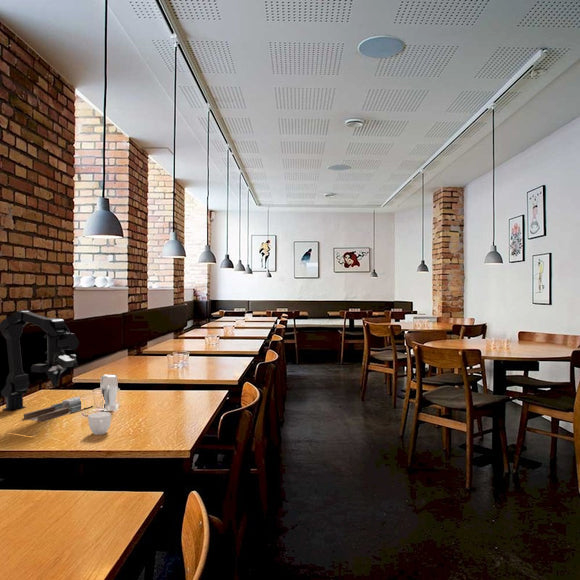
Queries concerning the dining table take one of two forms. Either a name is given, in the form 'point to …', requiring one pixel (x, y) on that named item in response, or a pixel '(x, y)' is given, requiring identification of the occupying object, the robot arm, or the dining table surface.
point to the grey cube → (69, 403)
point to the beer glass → (109, 391)
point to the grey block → (77, 400)
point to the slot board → (50, 413)
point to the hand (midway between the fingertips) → (55, 386)
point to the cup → (99, 422)
